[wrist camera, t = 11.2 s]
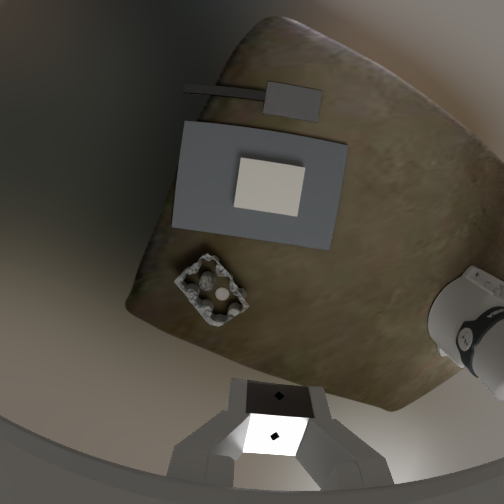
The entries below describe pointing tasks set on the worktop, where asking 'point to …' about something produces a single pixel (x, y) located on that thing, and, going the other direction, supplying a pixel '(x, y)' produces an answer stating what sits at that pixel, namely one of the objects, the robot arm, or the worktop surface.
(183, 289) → the egg carton
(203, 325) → the worktop surface
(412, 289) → the worktop surface
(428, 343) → the worktop surface
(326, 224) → the mat
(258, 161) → the tile
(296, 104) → the turner
